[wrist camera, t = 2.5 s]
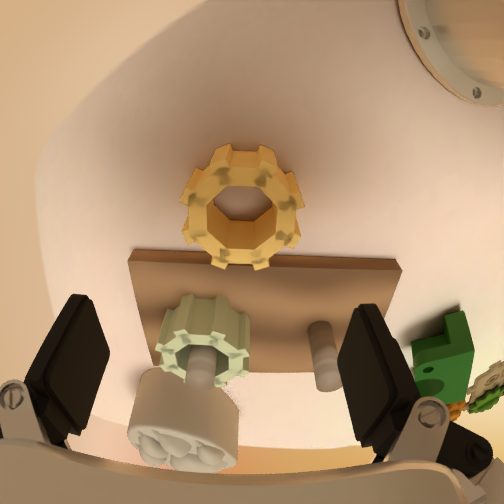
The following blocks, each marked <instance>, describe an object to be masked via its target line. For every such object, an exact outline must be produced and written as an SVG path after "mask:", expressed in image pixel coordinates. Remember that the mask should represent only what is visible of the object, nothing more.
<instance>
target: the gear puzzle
mask: <svg viewBox="0 0 504 504" xmlns="http://www.w3.org/2000/svg"><path fill="white" fill-rule="evenodd" d="M489 368H490V369H489V370H488V371H486V372H485V373H483V374H481V375H480V376H478V377H477V378H476V379H475V382H474V385H473V386H472V387H469V388H468V389H467V395H469V394H470V393H471V396H470V398H469V401H468V402H467V403H466V402H465V400H464V401H460V402H456V403H452V404H450V405H448V406H447V408H448V410H449V413H450V421H452V422H453V421H455V420H457V418H458V417H459V416H460V413H461V411H462V410H463V411H465V410H467V411H468V412H469V414H471V413H474V412H475V413H478V412H483V411H484V410H489V409H491V408H492V407H493V405H494V404H496V403H497V402H498V401H499V397H501V396H503V395H504V361H503V362H502V363H501V360H500V361H498V362H496V363H495V364H493V365H491V366H490V367H489Z"/></svg>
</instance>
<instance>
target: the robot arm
mask: <svg viewBox="0 0 504 504" xmlns="http://www.w3.org/2000/svg"><path fill="white" fill-rule="evenodd" d="M398 3H399V9H400V15H401V18H402V21H403V24H404V27H405V30H406V33H407V35H408V37H409V39H410V41H411V43H412V45H413V48H414V49H415V51H416V53H417V54H418V56H419V57H420V59H421V60H422V62H423V64H424V65H425V66H426V67H427V69H428V70H429V71H430V72H431V74H432V75H433V76H434V77H435V78H436V79H437V80H438V81H439V82H440V83H441V84H442V85H443V86H444V87H445V88H446V89H448V90H449V91H451V92H452V93H453V94H455V95H456V96H458V97H459V98H462V99H464V100H466V101H468V102H471V103H474V104H478V105H481V106H488V107H497V106H502V105H504V0H398ZM418 31H419V32H420V35H419V32H418ZM109 357H110V350H109V347H108V344H107V341H106V339H105V336H104V333H103V330H102V328H101V325H100V322H99V319H98V316H97V313H96V310H95V307H94V304H93V301H92V300H91V299H89V298H88V296H87V295H80V294H72V295H71V296H70V297H69V299H68V301H67V302H66V304H65V306H64V307H63V309H62V311H61V312H60V314H59V316H58V317H57V319H56V321H55V322H54V324H53V326H52V328H51V330H50V331H49V333H48V335H47V337H46V338H45V340H44V342H43V344H42V346H41V347H40V349H39V351H38V353H37V355H36V357H35V359H34V361H33V363H32V365H31V367H30V369H29V371H28V373H27V375H26V377H25V380H24V382H21V381H19V380H9V381H7V382H5V383H4V384H2V385H1V387H0V504H504V463H503V462H502V461H501V460H500V459H499V458H496V459H494V458H493V450H492V447H491V445H490V443H489V442H488V441H487V440H486V439H485V438H483V437H481V436H479V435H477V434H475V433H473V432H472V431H470V430H468V429H465V428H464V427H462V426H460V425H458V424H456V423H454V422H452V421H450V413H449V410H448V408H447V406H446V405H445V404H444V403H443V402H442V401H441V400H439V399H438V398H435V397H427V396H426V397H423V398H422V397H421V395H420V393H419V390H418V388H417V385H416V383H415V381H414V378H413V376H412V374H411V371H410V369H409V367H408V364H407V362H406V360H405V358H404V355H403V353H402V351H401V349H400V347H399V344H398V342H397V341H396V339H394V338H392V336H391V333H390V331H389V329H388V327H387V325H386V323H385V321H384V319H383V316H382V314H381V312H380V310H379V308H378V306H377V305H376V304H375V303H367V304H360V305H359V306H358V308H354V310H353V313H352V316H351V319H350V322H349V325H348V328H347V331H346V334H345V337H344V340H343V343H342V346H341V349H340V351H339V354H338V357H337V366H338V370H339V374H340V377H341V381H342V385H343V389H344V393H345V397H346V401H347V405H348V409H349V413H350V417H351V421H352V425H353V430H354V434H355V438H356V440H357V441H360V442H361V446H362V448H363V447H369V446H372V447H373V451H374V453H375V454H374V456H373V458H372V460H371V461H370V463H369V464H366V465H359V466H353V467H346V468H338V469H330V470H320V471H311V472H299V473H285V474H248V475H247V474H246V475H245V474H213V473H198V472H186V471H176V470H168V469H160V468H153V467H146V466H140V465H134V464H129V463H123V462H118V461H113V460H109V459H104V458H100V457H96V456H92V455H88V454H84V453H80V452H76V451H72V450H71V448H70V445H69V443H68V441H67V436H68V433H71V434H74V435H78V436H80V435H81V431H82V430H84V429H85V428H86V426H87V423H88V419H89V416H90V413H91V410H92V407H93V404H94V401H95V398H96V395H97V391H98V389H99V386H100V383H101V380H102V377H103V374H104V371H105V368H106V365H107V363H108V360H109Z"/></svg>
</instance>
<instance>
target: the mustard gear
mask: <svg viewBox="0 0 504 504" xmlns="http://www.w3.org/2000/svg"><path fill="white" fill-rule="evenodd" d="M227 186H249V187H259V188H260V189H261V190H262V191H263V192H264V193H265V195H266V196H267V197H268V198H269V199H270V200H271V201H272V207H271V208H270V209H269V210H267V211H266V212H265V213H264V214H262V215H261V216H260V217H259V218H257V219H256V220H255V221H232V220H229V219H228V218H227V217H226V216H225V215H224V214H223V213H222V212H221V211H220V210H219V209H218V208H217V207H216V206H215V205H214V197H215V196H217V195H218V194H219V193H220V192H221V191H222V190H223V189H224V188H226V187H227ZM180 203H183V204H185V205H188V217H187V219H186V222H185V224H184V227H183V229H182V234H183V236H184V238H185V240H186V241H187V243H188V245H189V244H192V243H195V242H196V243H197V244H199V245H200V246H201V247H202V248H203V249H204V250H206V251H207V252H208V253H209V254H210V255H211V256H212V260H211V264H212V265H214V266H217V267H220V268H222V269H225V268H226V266H227V264H228V263H237V264H252V265H253V267H254V269H255V270H259V269H262V268H266V267H269V258H270V257H271V256H273V255H274V254H275V253H277V252H278V251H279V250H281V249H282V248H283V247H285V246H288V247H290V248H293V249H294V247H295V245H296V244H297V242H298V241H299V239H300V237H301V234H300V231H299V227H298V223H297V220H296V210H297V209H300V208H303V207H305V205H304V202H303V199H302V195H301V192H300V190H299V187H298V184H297V182H296V179H295V177H294V174H293V172H289V173H286V174H284V172H283V171H282V170H281V169H280V168H279V167H278V165H277V161H276V158H275V154H274V151H273V150H271V149H269V148H267V147H264V146H262V145H260V146H259V148H258V150H257V152H255V151H233V149H232V146H231V144H227V145H225V146H222V147H219V148H217V149H216V151H215V153H214V155H213V157H212V160H211V162H210V164H209V166H208V167H207V168H206V169H205V170H204V171H203V170H200V169H198V168H196V169H195V171H194V173H193V174H192V176H191V178H190V180H189V182H188V183H187V185H186V187H185V189H184V192H183V194H182V197H181V200H180Z"/></svg>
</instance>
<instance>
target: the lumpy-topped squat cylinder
mask: <svg viewBox="0 0 504 504" xmlns="http://www.w3.org/2000/svg"><path fill="white" fill-rule="evenodd" d="M183 381H184V379H183V378H181V377H179V376H178V375H176V374H174V373H173V372H171V371H169V372H165V371H164V370H163V369H162V368H154V369H150V370H148V371H146V372H145V373H144V374H143V375H142V377H141V379H140V383H139V387H138V390H137V394H136V398H135V402H134V406H133V410H132V414H131V418H130V422H129V426H128V431H127V434H128V438H129V440H130V442H131V444H132V445H133V446H134V447H135V448H136V449H138V450H139V452H140V455H141V457H142V459H143V461H145V462H146V463H147V464H149V465H152V466H160V465H162V464H164V465H167V466H170V467H173V468H174V469H175V470H176V471H186V472H198V473H216V472H219V471H221V470H222V469H223V468H230V467H233V466H235V465H236V464H237V460H238V420H239V410H238V408H237V406H236V405H235V403H234V402H233V401H232V399H231V398H230V397H229V396H228V395H227V394H226V393H225V392H224V391H223V390H222V389H221V388H219V387H216V386H215V385H214V387H213V388H212V389H210V390H207V391H198V390H194V389H191V388H190V387H188V386H187V385H186V384H185V383H183Z"/></svg>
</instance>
